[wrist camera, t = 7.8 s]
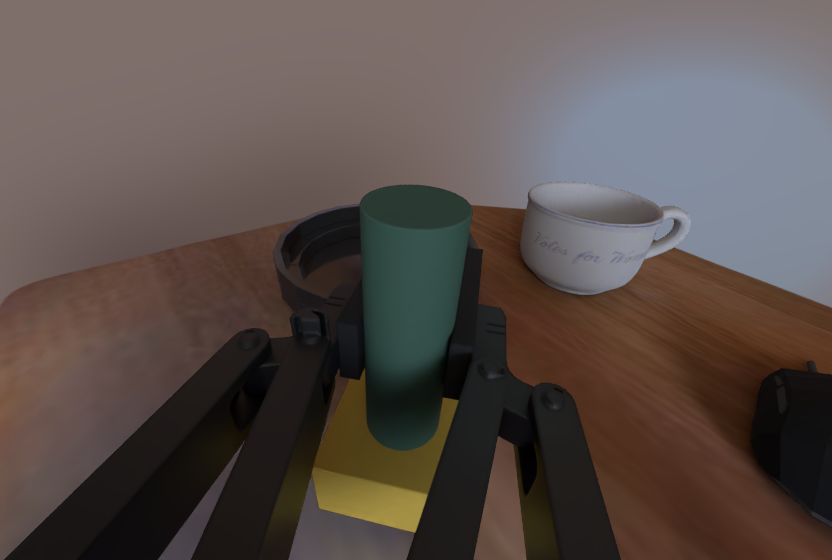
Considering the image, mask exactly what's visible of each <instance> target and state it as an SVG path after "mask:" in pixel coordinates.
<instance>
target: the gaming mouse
mask: <svg viewBox="0 0 832 560" xmlns="http://www.w3.org/2000/svg"><path fill="white" fill-rule="evenodd" d="M807 364H808V368H809V372H807V371H800V370H792V369H785V368H781V369H779V370H777V371H775V372H773V373H771V374H770V375H768V376H767V377H766V378H765V379H764V380H763V381H762V384H761V387H760V391H759V394H758V400H757V406H756V412H755V416H754V420H753V424H752V431H751V440H750V441H751V443H752V446H753V449H754V452H755V455H756V458H757V461H758V464H759V465H760V466H761V467H762V468H763V469H764V470H765V472H766V473H767V474H768V475H769V476H770V477H771V478H772V479H773V480H775V481H776V482H777V483H778V484H779V485H780V486H781V487H782V488H783V489H784V490H785V491H786V492H787V493H788V494H789V495H790V496H791V497H792V498H793V499H794V500H795V501H796V502H797V503H798V504H800V505H801V506H802V507H803V508H804V509H805V510H806V511H807V512H808V513H809V514H810V515H812V516H813V517H815V518H817V519H819V520H820V521H822V522H824V523H826V524H827V525H829V526H831V527H832V375H830V374H822V373H819V372H817V369H816V365H815V362H814V361H808V362H807Z"/></svg>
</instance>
